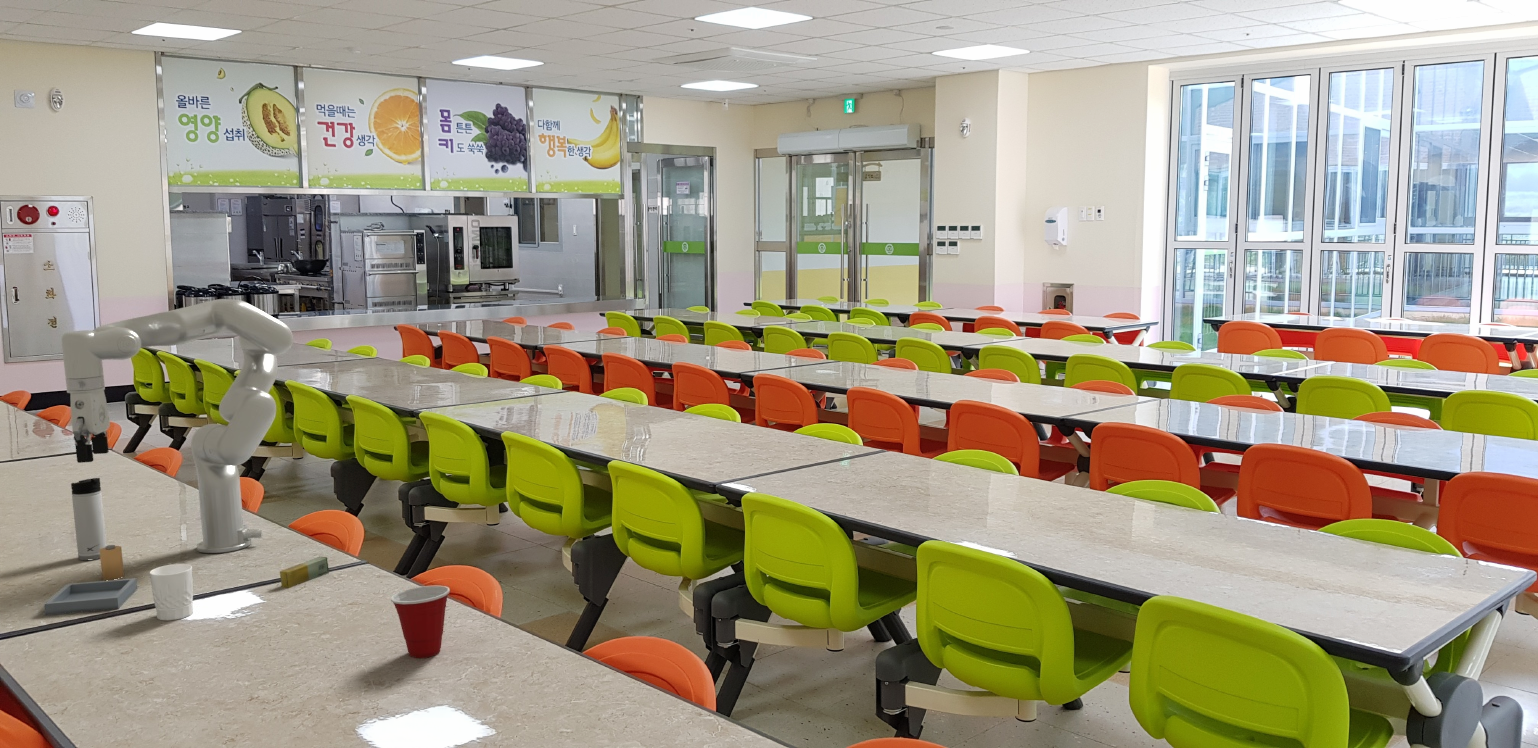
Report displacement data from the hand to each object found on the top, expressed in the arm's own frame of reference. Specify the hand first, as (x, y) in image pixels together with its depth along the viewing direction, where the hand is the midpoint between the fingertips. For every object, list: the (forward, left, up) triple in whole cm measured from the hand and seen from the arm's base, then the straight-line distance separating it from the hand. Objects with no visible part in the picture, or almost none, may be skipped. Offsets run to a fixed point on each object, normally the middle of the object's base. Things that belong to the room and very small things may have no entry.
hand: (93, 457), depth 265 cm
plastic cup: (-75, +72, -29) cm, 108 cm away
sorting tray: (-3, +20, -28) cm, 35 cm away
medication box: (-46, +17, -29) cm, 57 cm away
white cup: (-23, +35, -29) cm, 51 cm away
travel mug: (+8, -18, -29) cm, 35 cm away
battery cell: (-2, +2, -28) cm, 29 cm away
